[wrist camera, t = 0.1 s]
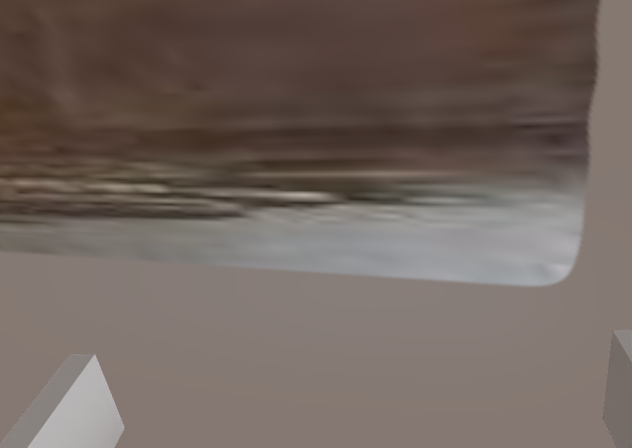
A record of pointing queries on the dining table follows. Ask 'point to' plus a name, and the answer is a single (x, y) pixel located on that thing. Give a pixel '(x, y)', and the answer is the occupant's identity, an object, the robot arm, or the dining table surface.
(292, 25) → the dining table surface
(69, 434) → the robot arm
